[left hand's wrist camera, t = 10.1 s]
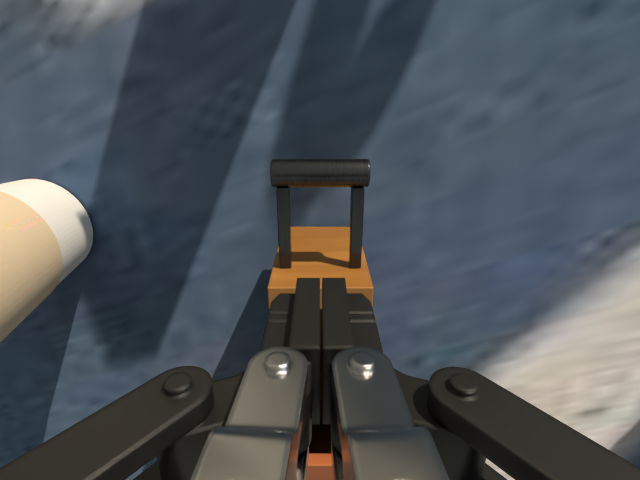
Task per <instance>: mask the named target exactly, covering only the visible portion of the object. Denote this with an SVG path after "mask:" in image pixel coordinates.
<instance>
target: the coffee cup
mask: <svg viewBox="0 0 640 480" xmlns="http://www.w3.org/2000/svg"><path fill="white" fill-rule="evenodd" d="M92 243H93V229H92V224H91V221H90V218H89V216H88V214H87V212H86V210H85V209H84V207H83V206H82V205H81V203H80V202H79V201H78V200H77V199H76V198H75V197H74V196H73V195H72V194H71V193H69V192H68V191H67V190H65V189H63V188H62V187H60V186H58V185H56V184H53V183H51V182H48V181H44V180H39V179H24V180H18V181H14V182H9V183H4V184H0V342H1V341H2V340H3V339H4V338H5V337H6V336H8V335H9V334H10V333H11V332H12V331H13V330H14V329H15V328H16V327H17V326H18V325H19V324H20V323H21V322H22V321H23V320H24V319H25V318H26V317H27V316H28V315H29V314H30V313H31V312H32V311H33V310H34V309H35V308H36V307H37V306H38V305H39V304H40V303H41V302H43V301H44V300H45V299H46V298H47V297H48V296H49V295H50V294H51V293H52V292H53V290H54V289H55V288H56V286H57V285H58V284H59V283H60V282H61V281H62V280H63V279H64V278H65V277H66V276H67V275H69V274H70V273H71V272H72V271H73V270H74V269H75V268H76V267H77V266H78V265H79V264H80V263H81V262H82V261H83V260H84V259H85V258H86V257H87V255H88V254H89V252H90V250H91V247H92Z"/></svg>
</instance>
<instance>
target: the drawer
mask: <svg viewBox="0 0 640 480" xmlns="http://www.w3.org/2000/svg"><path fill="white" fill-rule="evenodd" d="M270 172H271V184H272V186H273V187H277V189H276V193H277V217H278V240H279V246H278V249H277V253H276V257H275V261H274V265H273V268H272V272H271V276H270V280H269V284H268V288H267V292H268V308H269V309H270V305H271V302H272V301H273V300H274V299H275V298H276V297H277V296H278V295H279V294H280V293H295V290H296V282H297V278H320V424H312V437H311V442H310V445H309V453H331V424H323V412H322V278H345V281H346V289H347V293H362V294H363V295H364V296H365V297H366V298H367V299H368V300H369V301H370V302H371V304H372V306H373V285H372V281H371V277H370V273H369V270H368V266H367V262H366V258H365V255H364V251H363V247H362V232H363V209H364V187H368V186H369V182H370V162H369V160H368V159H272V161H271V170H270ZM290 187H351V206H350V227H291V216H290Z"/></svg>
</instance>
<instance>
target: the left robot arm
mask: <svg viewBox="0 0 640 480" xmlns="http://www.w3.org/2000/svg"><path fill="white" fill-rule="evenodd" d="M322 412H323V424H331V459H332V468H333V476H334V480H507V479H506V478H504V477H503V476H502V475H500V474H499V473H498V472H496V471H495V470H494V469H492V468H491V467H490V466H489V465H487V464H486V463H485V461H486V458H487V459H489V460H490V461H491V462H493V463H494V464H495V465H497V466H498V467H499V468H501V469H502V470H503V471H505V472H506V473H507V474H509V475H510V476H511V477H512V478H514V479H515V480H640V468H638V467H637V466H635V465H633V464H632V463H630V462H628V461H626V460H625V459H623V458H621V457H620V456H618V455H616V454H615V453H613V452H611V451H610V450H608V449H606V448H604V447H603V446H601V445H599V444H598V443H596V442H594V441H593V440H591V439H589V438H587V437H586V436H584V435H582V434H581V433H579V432H577V431H576V430H574V429H572V428H570V427H569V426H567V425H565V424H564V423H562V422H560V421H559V420H557V419H555V418H553V417H552V416H550V415H548V414H547V413H545V412H543V411H542V410H540V409H538V408H537V407H535V406H533V405H531V404H530V403H528V402H526V401H525V400H523V399H521V398H520V397H518V396H516V395H514V394H513V393H511V392H509V391H508V390H506V389H504V388H503V387H501V386H499V385H497V384H496V383H494V382H492V381H491V380H489V379H487V378H486V377H484V376H482V375H480V374H479V373H477V372H474V371H472V370H469V369H465V368H460V367H446V368H442V369H439V370H437V371H436V372H434V373H433V374H432V376H431V378H430V381H428V380H423V379H419V378H415V377H411V376H408V375H405V374H403V373H401V372H399V371H397V370H396V369H394V368H393V365H392V363H391V361H390V359H389V358H388V357H387V356H386V355H385V354H383V351H382V346H381V342H380V338H379V334H378V330H377V325H376V323H375V317H374V314H373V308H372V304H371V302H370V301H369V300H368V299H367V298H366V297H365V296H364V295H363V294H362V293H347V289H346V281H345V278H322ZM312 424H320V278H297V282H296V290H295V293H280V294H279V295H278V296H277V297H276V298H275V299H274V300H273V301H272V302H271V305H270V309H269V314H268V318H267V323H266V327H265V331H264V336H263V340H262V344H261V349H260V352H258V353H257V354H255V355H254V356H253V357H252V358H251V359H250V361H249V363H248V365H247V368H246V371H244V372H242V373H240V374H238V375H235V376H232V377H229V378H224V379H220V380H216V381H212V378H211V376H210V374H209V373H208V372H207V371H206V370H204V369H202V368H199V367H195V366H182V367H176V368H173V369H170V370H167V371H165V372H163V373H161V374H159V375H158V376H156V377H154V378H153V379H151V380H149V381H148V382H146V383H144V384H143V385H141V386H139V387H137V388H136V389H134V390H132V391H131V392H129V393H127V394H126V395H124V396H122V397H120V398H119V399H117V400H115V401H114V402H112V403H110V404H109V405H107V406H105V407H103V408H102V409H100V410H98V411H97V412H95V413H93V414H92V415H90V416H88V417H87V418H85V419H83V420H81V421H80V422H78V423H76V424H75V425H73V426H71V427H70V428H68V429H66V430H64V431H63V432H61V433H59V434H58V435H56V436H54V437H53V438H51V439H49V440H47V441H46V442H44V443H42V444H41V445H39V446H37V447H36V448H34V449H32V450H31V451H29V452H27V453H25V454H24V455H22V456H20V457H19V458H17V459H15V460H14V461H12V462H10V463H8V464H7V465H5V466H3V467H2V468H0V480H125V479H126V478H128V477H129V476H130V475H132V474H133V473H134V472H136V471H137V470H138V469H140V468H141V467H142V466H143V465H145V464H146V463H147V462H149V461H150V460H151V459H153V458H154V457H155V456H157V462H155V463H154V464H153V465H151V466H150V467H149V468H148V469H146V470H145V471H144V472H142V473H141V474H140V475H138V476H137V477H136V478H134V479H133V480H306V476H307V468H308V459H309V445H310V442H311V437H312Z"/></svg>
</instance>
